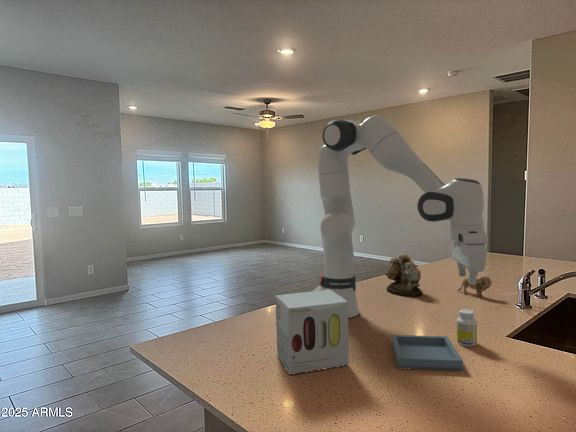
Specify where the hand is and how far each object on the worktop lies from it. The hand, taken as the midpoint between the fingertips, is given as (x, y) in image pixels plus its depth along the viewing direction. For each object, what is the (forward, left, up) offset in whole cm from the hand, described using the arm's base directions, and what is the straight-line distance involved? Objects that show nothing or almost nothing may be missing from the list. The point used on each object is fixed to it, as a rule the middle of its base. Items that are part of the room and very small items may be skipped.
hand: (466, 280), depth 115 cm
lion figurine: (+18, +51, -20) cm, 57 cm away
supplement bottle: (0, 0, -20) cm, 20 cm away
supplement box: (-45, -15, -20) cm, 51 cm away
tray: (-14, -10, -19) cm, 26 cm away
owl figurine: (-11, +55, -20) cm, 59 cm away
